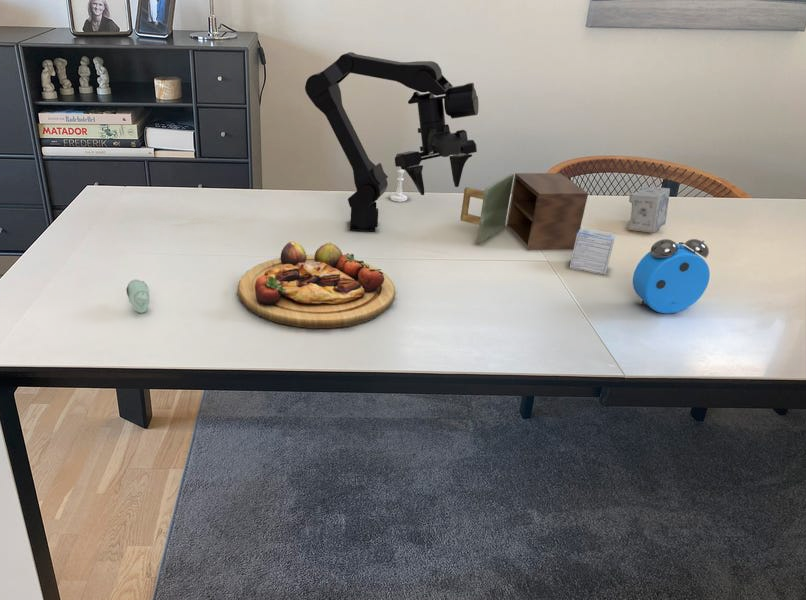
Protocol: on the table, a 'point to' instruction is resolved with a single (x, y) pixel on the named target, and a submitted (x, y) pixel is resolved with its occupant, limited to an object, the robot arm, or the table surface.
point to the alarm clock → (672, 275)
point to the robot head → (138, 295)
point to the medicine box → (592, 250)
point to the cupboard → (546, 211)
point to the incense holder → (648, 209)
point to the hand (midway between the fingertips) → (439, 190)
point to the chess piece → (399, 188)
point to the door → (489, 207)
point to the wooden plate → (316, 288)
